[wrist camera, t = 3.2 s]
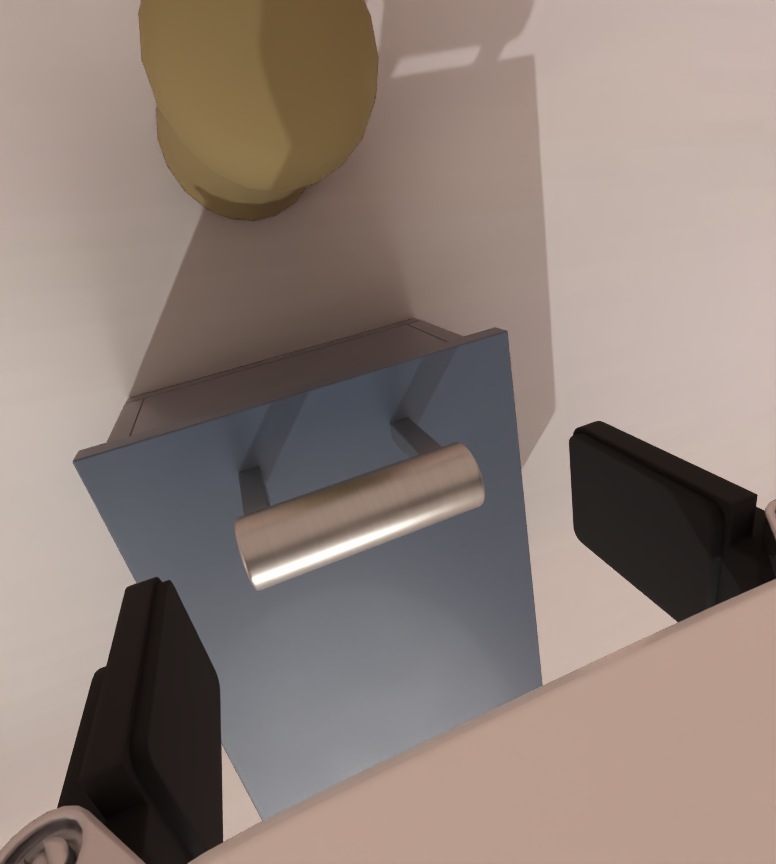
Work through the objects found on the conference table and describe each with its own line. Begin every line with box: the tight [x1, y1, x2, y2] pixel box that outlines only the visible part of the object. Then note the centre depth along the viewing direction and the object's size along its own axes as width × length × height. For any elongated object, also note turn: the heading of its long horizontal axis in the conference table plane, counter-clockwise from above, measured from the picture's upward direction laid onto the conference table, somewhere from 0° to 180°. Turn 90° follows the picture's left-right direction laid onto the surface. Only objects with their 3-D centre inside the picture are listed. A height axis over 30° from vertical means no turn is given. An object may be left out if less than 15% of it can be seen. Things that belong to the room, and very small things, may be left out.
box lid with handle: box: [73, 328, 542, 821], centre depth 17 cm, size 17×14×6 cm
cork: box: [139, 0, 378, 221], centre depth 15 cm, size 6×6×11 cm
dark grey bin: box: [107, 318, 463, 442], centre depth 23 cm, size 17×14×8 cm
